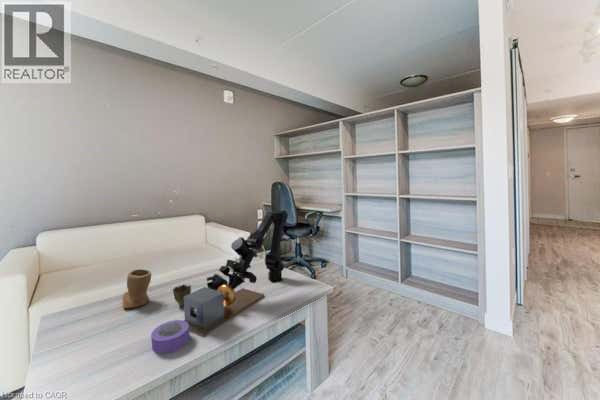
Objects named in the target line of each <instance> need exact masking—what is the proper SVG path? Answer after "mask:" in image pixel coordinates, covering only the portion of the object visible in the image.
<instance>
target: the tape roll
mask: <svg viewBox="0 0 600 400" xmlns="http://www.w3.org/2000/svg"><path fill="white" fill-rule="evenodd" d="M150 339H151V349H152V352H154V353H155V354H159V355H160V354H161V355H165V354H171V353H173V352H174V353H175V352H177V351H179V350H181V349H182V348H184V347H185V346H186V345H187V344H188V343H189V341H190V331H189V324H188V323H187V322H186V321H184V320H181V319H174V320H169V321H166V322H164V323H161V324H160V325H158V326H156V327H155V328H154V329H153V330H152V332H151V334H150Z"/></svg>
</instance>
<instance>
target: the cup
mask: <svg viewBox="0 0 600 400" xmlns="http://www.w3.org/2000/svg"><path fill="white" fill-rule="evenodd" d="M191 290H192V285H190V284H188V286H187V284H182V285H179V286H175V287H174V288H173V289H172V292H173V296H174V300H175V301H176V303H177V304H178V306H180V307H184V296H186V295H188V294H191V293H192V292H191Z"/></svg>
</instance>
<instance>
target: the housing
mask: <svg viewBox="0 0 600 400" xmlns="http://www.w3.org/2000/svg"><path fill="white" fill-rule="evenodd" d="M235 295H236V298H235V301H234V303H232V304H231V305H229V306H227V307H225V306H224V298H223V292H219V291H216V290H213V289H210V288H208V287H207V286H206V287H205V286H203V287H201V288H200V289H198V290H195V291H193V292H191V294H188V295H186V296H184V306H183V307H184V309H183V310H184V311H183V312H184V320H183V321H186V322H187V323H188V324H189V332H192V333H194V334H196V335H198V336H200V337H202V338H204V337H205V336H206V335H208V334H210V333H211V332H213V331H214V330H215V329H217V328H218V327H220V326H222V325H223V324H225V323H226V322H227V321H230V320H231V319H232V318H234V317H235V316H237V315H238V314H240V313H242V312H243V311H244V310H246V309H247V308H249V307H250V306H253V304H255V303H256V302H258V301H259V300H261V299H263V298H264V297H265V294H264V293H261V292H257V291H254V290H250V289H246V288H240V289H238V290H236V291H235ZM193 308H195V309H197V316H195V315H194V314H193V311H192V310H193Z"/></svg>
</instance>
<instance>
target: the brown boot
mask: <svg viewBox="0 0 600 400" xmlns="http://www.w3.org/2000/svg"><path fill="white" fill-rule="evenodd" d="M151 279H152V272H151V271H150V270H149V269H143V268H138V269H137V268H136V269H133V270H131V271H129V273H128V274H127V279H126V287H127V291H126V292H124V293H123V294H122V302H121V303H122V307H123V308H125V309H131V308H136V307H140V306H143V305H145V304H147V302H148V299H149V298H148V297H149V296H148V294H147V293H148V292H147V291H148V288H149V285H150V283H151Z"/></svg>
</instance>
